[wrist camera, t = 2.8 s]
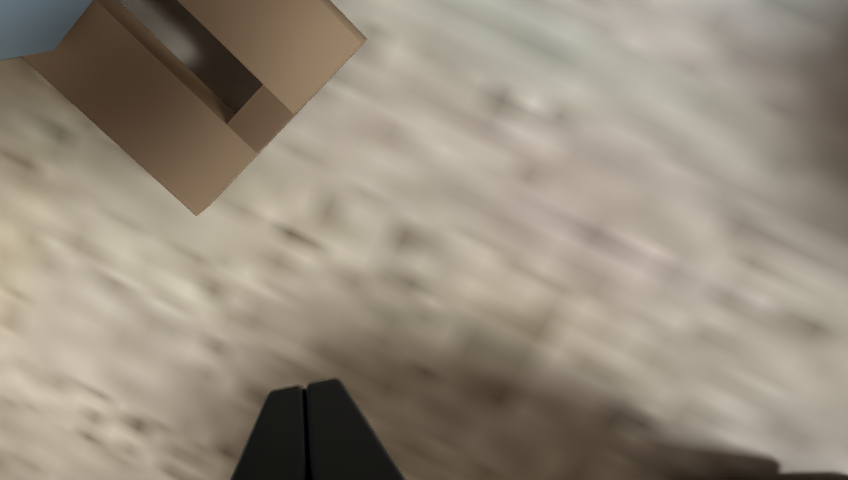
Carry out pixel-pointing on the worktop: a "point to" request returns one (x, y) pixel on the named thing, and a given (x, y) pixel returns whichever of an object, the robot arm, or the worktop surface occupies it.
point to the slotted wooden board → (197, 84)
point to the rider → (36, 24)
